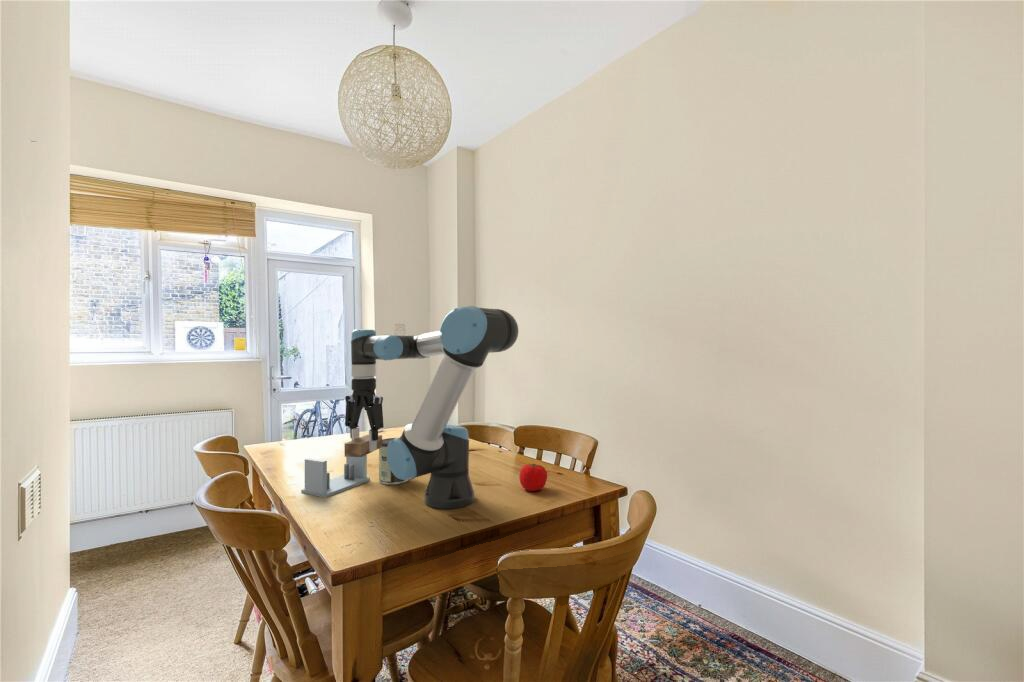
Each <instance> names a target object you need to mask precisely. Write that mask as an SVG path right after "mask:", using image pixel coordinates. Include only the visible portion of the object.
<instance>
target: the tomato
mask: <svg viewBox="0 0 1024 682" xmlns="http://www.w3.org/2000/svg"><path fill="white" fill-rule="evenodd" d="M518 479H519V482H520V485H521V487H522V488H523V489H525V490H526V491H532V492H535V491H536V492H537V491H540V490H543V488H545V486H546V482H547V479H548V473H547V470H546V468H545V467H544V466H542V465H540V464H536V463H527V464H525V465H523V466H522V467H521V469H520V471H519V478H518Z"/></svg>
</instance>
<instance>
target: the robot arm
mask: <svg viewBox="0 0 1024 682" xmlns="http://www.w3.org/2000/svg"><path fill="white" fill-rule="evenodd" d="M376 333H377V332H376V330H374V329H353V331H352V332H351V341H350V348H351V350H350V352H351V353H350V355H351V371H350V372H351V374H350V375H351V378H352V379H351V390H352V394H351V395H346V396H345V404H346V405H345V417H344V418H345V419H344V420H345V421H344V426H345V427H348V428H349V429H350V430H349V431H350V432H349V436H350V439H351V441H352V440H355V439H357V438H360V427H359V425H358V424H359V422H360V421H359V420H360V417H361V414H362V411H363V409H364V411H365V413H366V415H367V420H368V423H369V427H370V429H369V430H368V435H369V452H371V451H373V452H375V451H377V450H378V449H377V440H378V435H379V430H380V429H382V428H384V415H383V414H384V411H383V402H384V401H383V400H384V398H383V396H377V395H376V392H375V390H376V389H377V379H376V378H375V377H376V376H377V365H376V364H377V360H380V361H381V360H382V361H393V360H404V359H409V360H410V359H414V360H415V359H418V360H420V359H421V360H422V359H423V360H424V359H426V358H427V359H428V358H430V357H433V356H441V355H443V357H442V358H441V359H442V360H441V362H440V363H439V366H438V368H437V370H436V372H435V375H434V377H433V379H432V381H431V384H430V385H429V387H428V390H427V391H426V394H425V395H424V396H425V397H424V398H423V401H422V402H421V405H420V407H419V410H418V412H417V414H416V415H415V417H414V420H413V422H409V423H408V424H406V425H405V427H404V429H403V431H402V433H401V435H400V437H394V438H395V439H393V440H391V441H390V442H389V444H388V446H387V451H386V456H387V461H388V465H389V468H390V470H391V471H392V473H393V474H394V475H395V476H396V477H397V478H398V479H401V480H408V479H409V480H414V479H416V478H418V477H422V476H425V475H428V474H430V477H429V481H428V483H427V487H426V490H425V492H424V504H425V505H427V506H429V507H432V508H434V509H441V510H442V509H444V510H445V509H447V510H449V509H458V508H464V507H466V506H468V505H471V504H472V503H473V502H474V501H475V491H474V488H473V484H472V481H471V477H470V474H469V473H470V472H469V470H470V469H469V464H470V460H469V459H470V437H469V430H468V429H467V428H466V427H464V426H460V425H456V424H455V425H452V424H448V423H449V421H450V419H451V417H452V416H453V415H452V414H453V413H454V412H455V411H454V410H455V409H456V407H457V404H458V403H459V401H460V399H461V397H462V394H463V392H464V390H465V388H466V386H467V384H468V383H469V380H470V378H471V376H472V374H473V372H474V370H475V369H479V368H481V367H482V366H483V365H484V363H485V361H486V359H487V357H488V355H489V353H501V352H505V351H508V350H509V349H510V348H512V347H513V346H514V344H515V343H516V342H517V339H518V337H519V325H518V322H517V320H516V319H515V317H514V316H513V315H512V314H511V313H509V312H508V311H506V310H503V309H501V308H500V309H499V308H488V307H487V308H485V307H478V306H472V305H468V306H459V307H456V308H454V309H452V310H450V311H449V312H448V313H447V314H446V315H445V317H444V318H443V320H442V322H441V325H440V329H439V330H436V331H431V332H426V333H422V334H415V335H396V334H395V335H393V334H383V335H377V334H376ZM371 453H372V452H371ZM409 480H408V481H409Z"/></svg>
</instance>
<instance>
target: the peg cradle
mask: <svg viewBox="0 0 1024 682" xmlns="http://www.w3.org/2000/svg"><path fill="white" fill-rule="evenodd" d="M345 459H346V462H345V463H344V465H343V473H344V474H342V475H339V476H337V477H333V478H331V479H330V472H328V469H327V468H328V461H327V460H324V459H317V458H312V457H311V458H310V457H308V458H305V459H304V488H302V489H300V490H301V491H300V493H301V494H307V495H311V496H317V497H322V498H329V497H332V496H333V495H336V494H339V493H341V492H344V491H347V490H349V489H352V488H354V487H357V486H360V485H361V484H362V485H363V484H364V483H367V482H369V481H371V477H370V476H369V477H368V475H367V474H368V470H367V469H368V466H367V463H368V454H367V455H365V456H363V457H345Z"/></svg>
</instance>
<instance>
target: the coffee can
mask: <svg viewBox="0 0 1024 682" xmlns="http://www.w3.org/2000/svg"><path fill="white" fill-rule="evenodd" d="M395 438H396V437H389V438H384V439H383V438H382V447H381V448H379V449H378V450H379V451H378V454H379V455H378V463H379V464H378V466H379V468H378V469H379V470H378V471H379V474H378V478H379V479H378V482H379V483H380V484H381V485H387V486H388V485H389V486H390V485H391V486H392V485H393V486H395V485H401V484H404V483H406V482H408V481H410V479H408V480H401V479H398V478H397V477H396V476H395V475H394V474H393V473H392V471H391V470H390V468H389V465H388V461H387V456H386V451H387V446H388V444H389V442H390V441H391V440H393V439H395Z"/></svg>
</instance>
